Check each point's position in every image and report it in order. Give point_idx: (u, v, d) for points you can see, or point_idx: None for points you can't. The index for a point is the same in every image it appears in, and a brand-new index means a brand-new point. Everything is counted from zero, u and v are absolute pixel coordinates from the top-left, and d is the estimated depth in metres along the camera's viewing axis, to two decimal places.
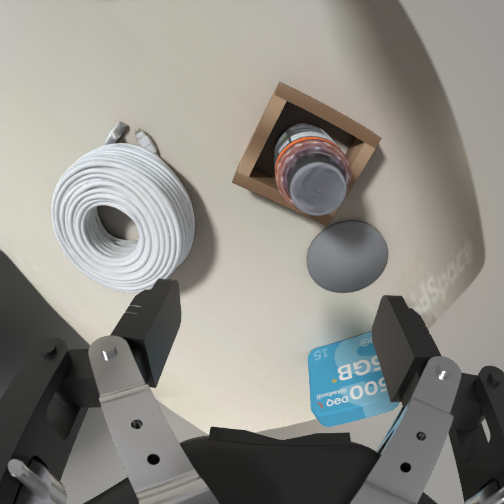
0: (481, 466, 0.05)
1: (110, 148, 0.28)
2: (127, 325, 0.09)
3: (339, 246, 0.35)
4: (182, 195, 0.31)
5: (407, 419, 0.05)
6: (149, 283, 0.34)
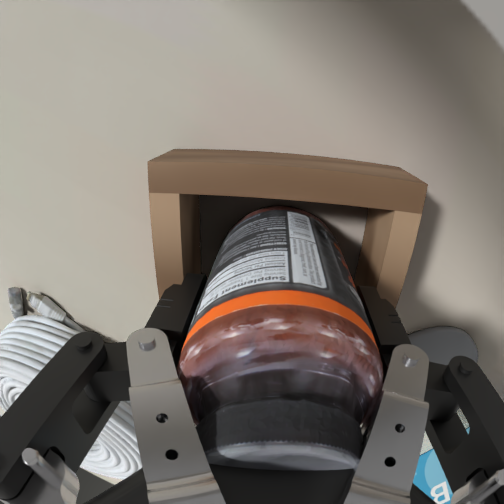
0: (464, 456, 0.06)
1: (9, 330, 0.17)
2: (160, 318, 0.10)
3: None
4: None
5: (382, 413, 0.06)
6: None
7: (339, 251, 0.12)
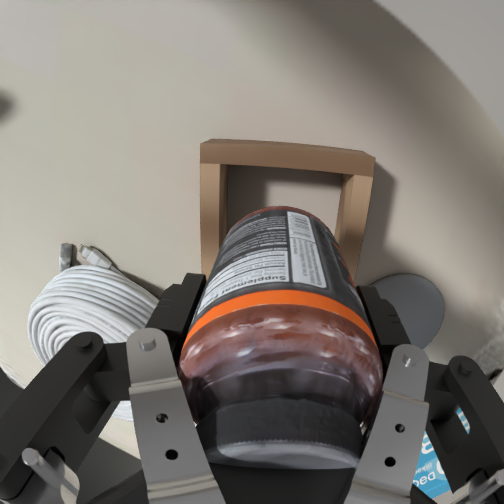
0: (464, 456, 0.06)
1: (60, 278, 0.24)
2: (160, 318, 0.10)
3: None
4: (152, 311, 0.24)
5: (382, 413, 0.06)
6: None
7: (339, 251, 0.12)
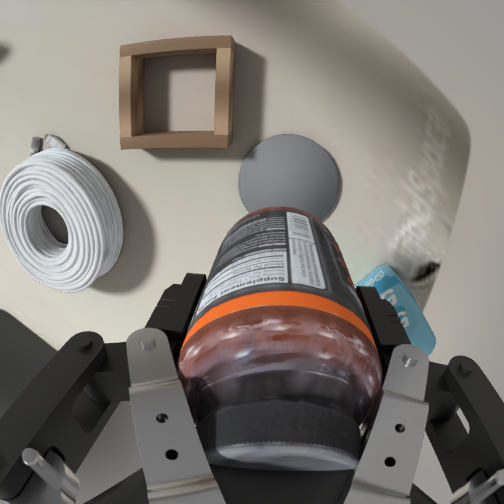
0: (464, 457, 0.06)
1: (28, 159, 0.28)
2: (160, 318, 0.10)
3: (268, 172, 0.30)
4: (88, 169, 0.29)
5: (382, 413, 0.06)
6: (91, 269, 0.31)
7: (338, 251, 0.12)
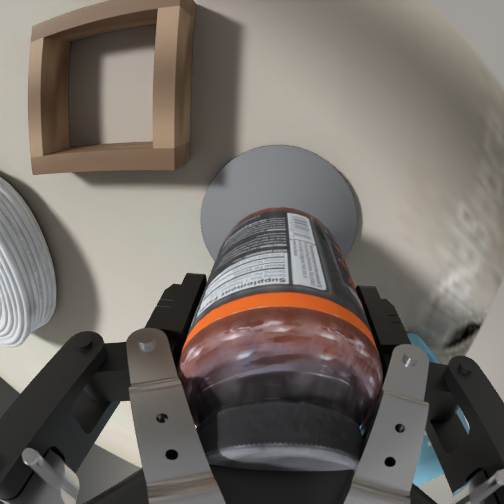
0: (464, 457, 0.06)
1: None
2: (160, 318, 0.10)
3: (246, 205, 0.19)
4: (2, 197, 0.18)
5: (382, 413, 0.06)
6: (18, 327, 0.20)
7: (339, 252, 0.12)
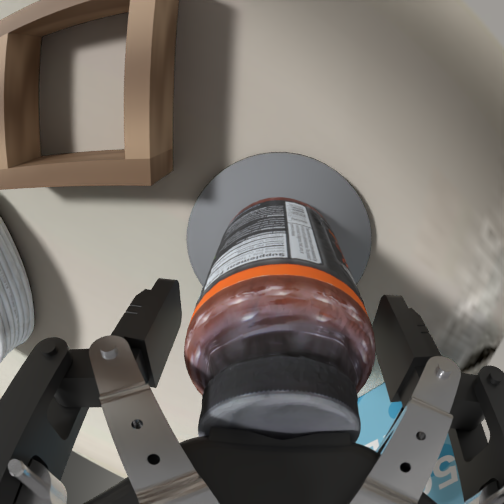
0: (480, 466, 0.05)
1: None
2: (127, 325, 0.09)
3: None
4: None
5: (407, 419, 0.05)
6: None
7: (334, 237, 0.13)
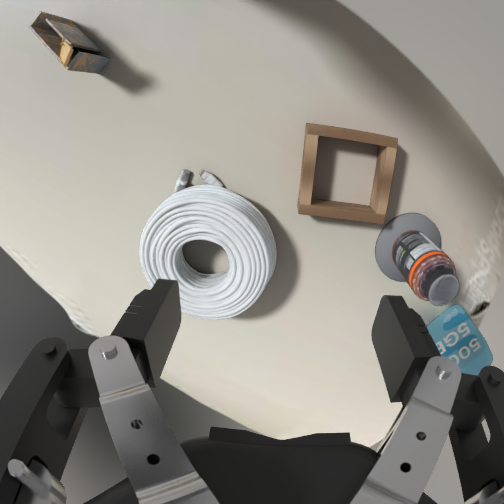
0: (481, 466, 0.05)
1: (183, 192, 0.36)
2: (127, 325, 0.09)
3: None
4: (257, 213, 0.37)
5: (407, 419, 0.05)
6: (248, 300, 0.39)
7: None
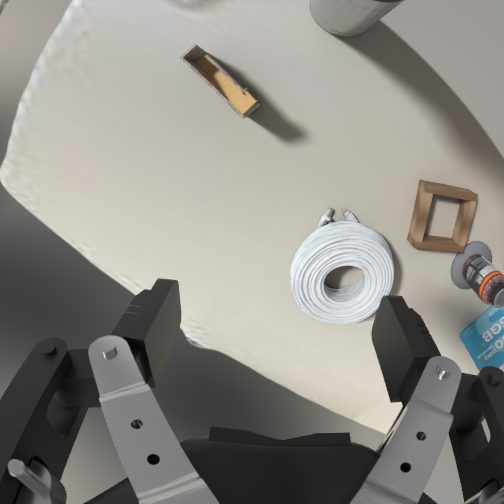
0: (481, 465, 0.05)
1: (333, 227, 0.46)
2: (127, 325, 0.09)
3: None
4: (385, 244, 0.46)
5: (407, 419, 0.05)
6: (374, 308, 0.49)
7: None
